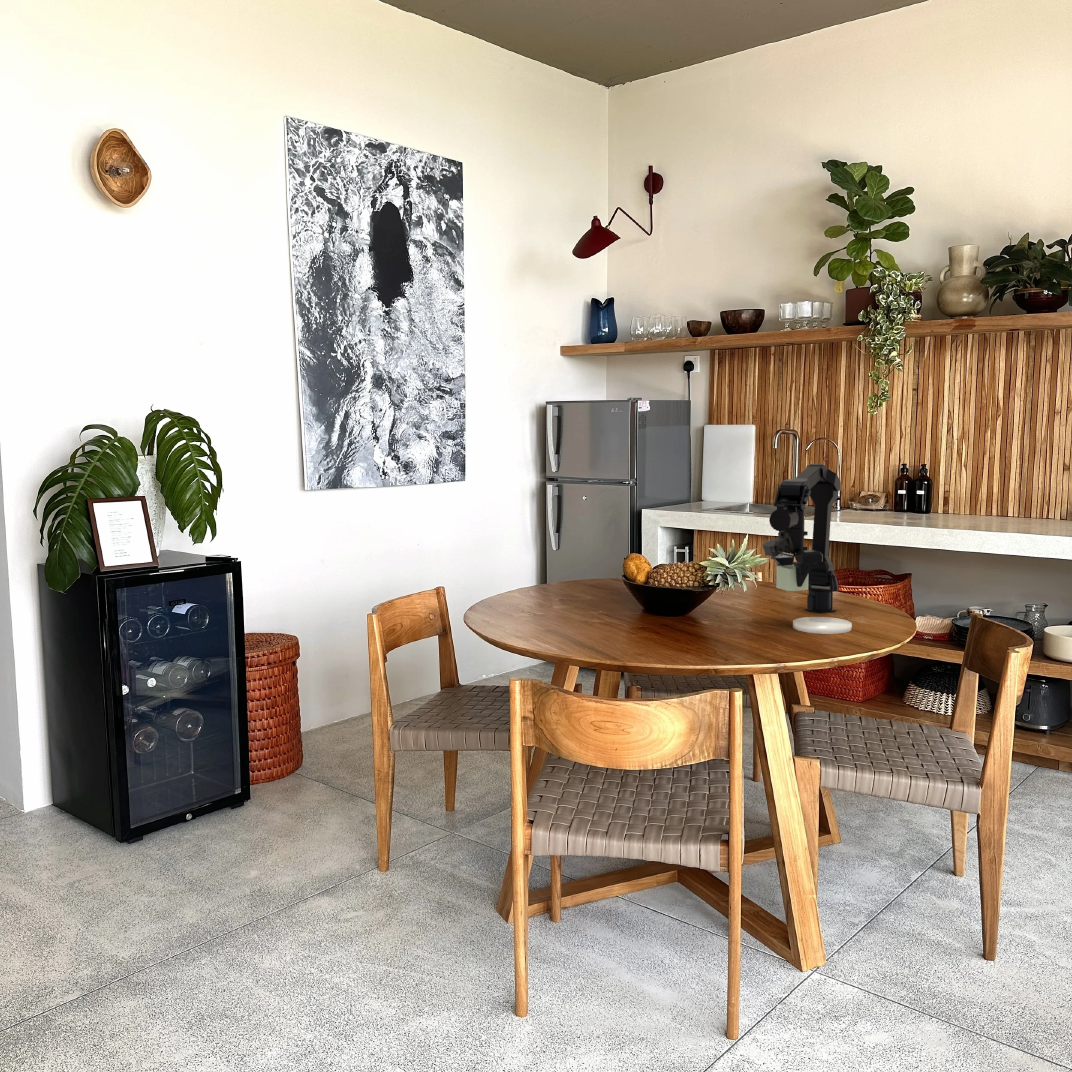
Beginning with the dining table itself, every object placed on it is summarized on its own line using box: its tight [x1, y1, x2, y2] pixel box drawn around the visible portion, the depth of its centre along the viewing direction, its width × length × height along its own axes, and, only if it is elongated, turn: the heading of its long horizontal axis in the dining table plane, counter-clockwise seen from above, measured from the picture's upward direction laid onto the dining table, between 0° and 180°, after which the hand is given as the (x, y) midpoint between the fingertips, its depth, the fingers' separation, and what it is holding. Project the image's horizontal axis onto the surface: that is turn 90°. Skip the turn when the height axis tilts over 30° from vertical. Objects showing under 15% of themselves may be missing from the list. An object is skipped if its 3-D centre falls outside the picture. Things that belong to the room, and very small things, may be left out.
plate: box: [792, 616, 853, 635], centre depth 259 cm, size 15×15×2 cm
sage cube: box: [775, 565, 809, 592], centre depth 262 cm, size 6×6×6 cm
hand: (792, 584), depth 263 cm, fingers closed on sage cube, 6 cm apart
